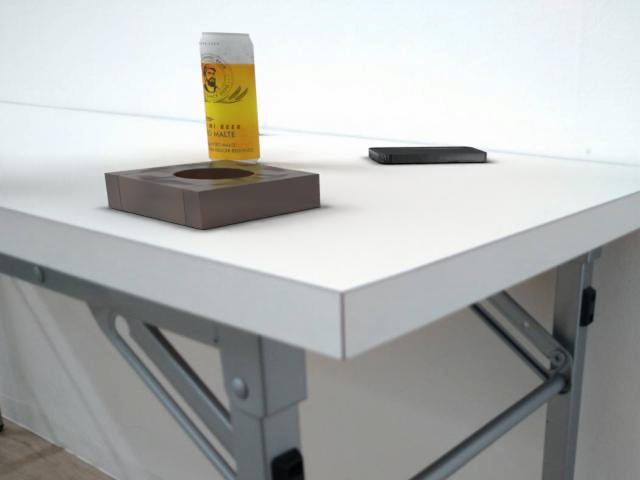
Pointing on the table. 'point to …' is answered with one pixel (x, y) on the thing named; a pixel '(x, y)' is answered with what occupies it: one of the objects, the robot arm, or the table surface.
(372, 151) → the phone
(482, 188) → the table surface
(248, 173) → the can holder
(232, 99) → the beer can
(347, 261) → the table surface
